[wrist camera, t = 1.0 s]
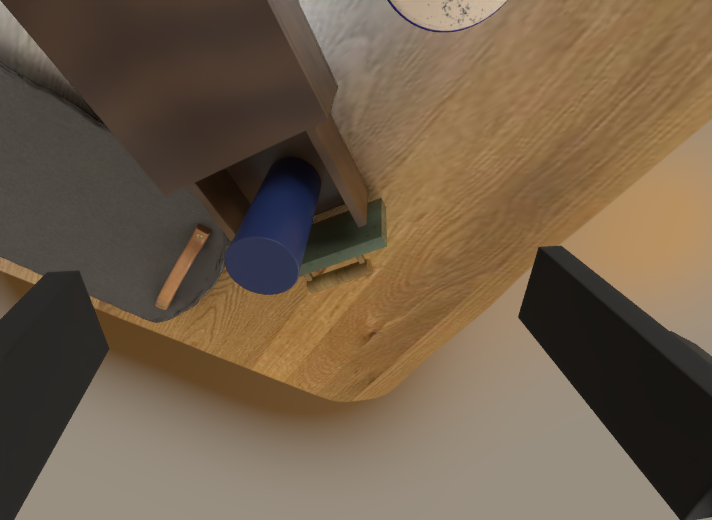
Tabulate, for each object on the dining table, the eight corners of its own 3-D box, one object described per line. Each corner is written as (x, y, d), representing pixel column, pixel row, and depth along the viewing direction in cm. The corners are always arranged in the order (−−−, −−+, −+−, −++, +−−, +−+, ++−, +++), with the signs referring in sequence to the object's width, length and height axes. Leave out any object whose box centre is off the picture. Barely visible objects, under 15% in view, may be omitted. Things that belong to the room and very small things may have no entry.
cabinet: (338, 86, 34) (327, 120, 27) (203, 153, 39) (165, 196, 32) (220, -167, 25) (159, -213, 18) (62, -43, 30) (-36, -42, 23)
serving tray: (-163, 161, 41) (-236, 189, 36) (-199, -77, 29) (-317, -84, 24) (190, 320, 54) (170, 357, 49) (267, 199, 41) (252, 232, 37)
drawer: (401, 239, 43) (404, 281, 37) (294, 276, 47) (282, 319, 41) (311, 52, 32) (297, 72, 26) (181, 122, 36) (146, 151, 30)
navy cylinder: (304, 148, 36) (273, 226, 25) (330, 195, 38) (312, 282, 28) (256, 169, 37) (209, 251, 27) (285, 213, 40) (252, 302, 30)
